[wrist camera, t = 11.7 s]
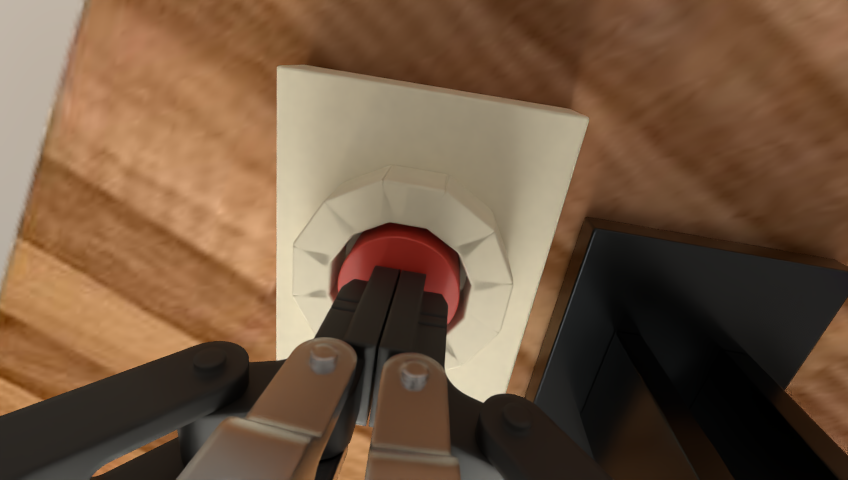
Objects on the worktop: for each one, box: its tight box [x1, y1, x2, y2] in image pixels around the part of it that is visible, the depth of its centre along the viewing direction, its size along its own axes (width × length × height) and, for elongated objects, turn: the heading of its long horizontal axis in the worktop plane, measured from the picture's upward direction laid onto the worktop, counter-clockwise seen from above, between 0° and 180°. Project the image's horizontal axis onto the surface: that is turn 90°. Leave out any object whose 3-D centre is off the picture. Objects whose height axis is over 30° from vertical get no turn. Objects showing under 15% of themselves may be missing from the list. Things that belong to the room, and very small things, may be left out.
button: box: [338, 222, 460, 325], centre depth 13 cm, size 4×4×2 cm
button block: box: [276, 65, 589, 403], centre depth 14 cm, size 11×9×4 cm
